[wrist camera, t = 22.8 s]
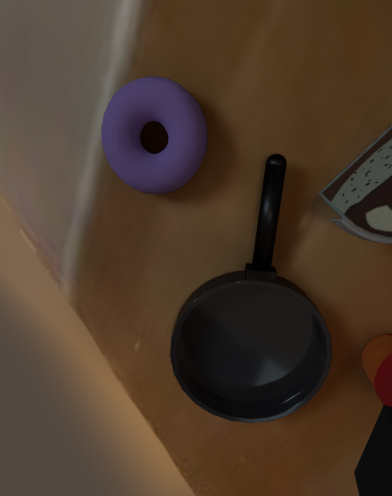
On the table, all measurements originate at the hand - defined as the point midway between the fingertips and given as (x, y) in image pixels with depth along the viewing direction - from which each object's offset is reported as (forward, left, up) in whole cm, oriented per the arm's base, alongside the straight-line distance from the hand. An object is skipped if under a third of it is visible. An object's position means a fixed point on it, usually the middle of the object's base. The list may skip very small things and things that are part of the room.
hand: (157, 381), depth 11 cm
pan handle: (-1, +6, -24) cm, 25 cm away
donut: (-8, -5, -25) cm, 27 cm away
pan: (+12, +6, -25) cm, 29 cm away
